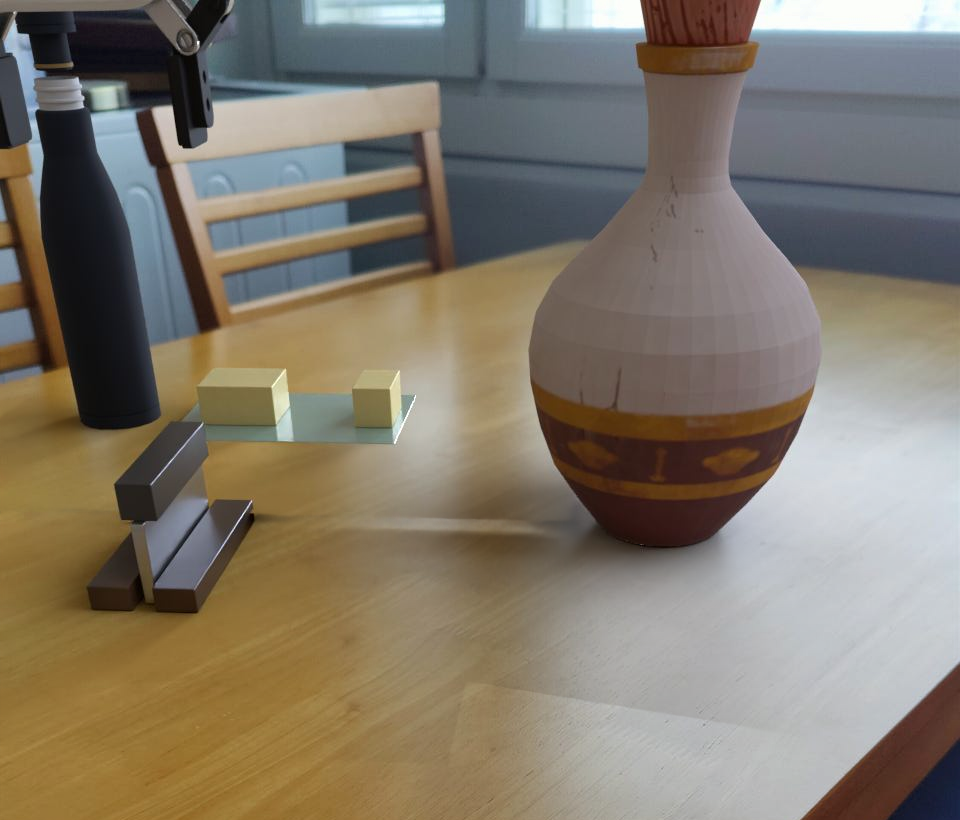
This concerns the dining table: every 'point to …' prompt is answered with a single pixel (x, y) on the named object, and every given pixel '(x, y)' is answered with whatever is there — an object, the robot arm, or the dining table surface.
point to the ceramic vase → (677, 312)
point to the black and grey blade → (164, 497)
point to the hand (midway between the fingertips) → (104, 145)
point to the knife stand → (176, 564)
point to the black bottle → (87, 246)
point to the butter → (243, 396)
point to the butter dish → (310, 423)
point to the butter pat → (377, 398)
